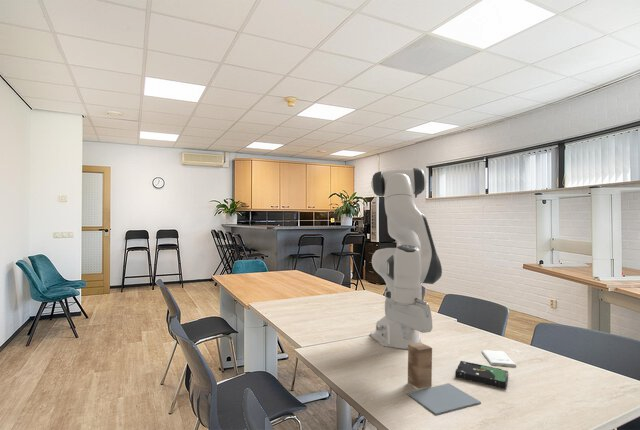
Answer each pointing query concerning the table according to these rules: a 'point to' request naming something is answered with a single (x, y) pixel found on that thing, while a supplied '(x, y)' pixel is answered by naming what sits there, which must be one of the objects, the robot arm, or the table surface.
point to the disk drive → (482, 374)
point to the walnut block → (419, 366)
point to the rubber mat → (443, 398)
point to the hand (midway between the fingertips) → (407, 339)
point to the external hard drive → (498, 358)
